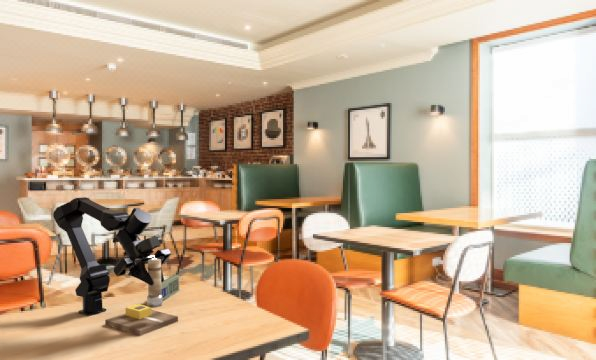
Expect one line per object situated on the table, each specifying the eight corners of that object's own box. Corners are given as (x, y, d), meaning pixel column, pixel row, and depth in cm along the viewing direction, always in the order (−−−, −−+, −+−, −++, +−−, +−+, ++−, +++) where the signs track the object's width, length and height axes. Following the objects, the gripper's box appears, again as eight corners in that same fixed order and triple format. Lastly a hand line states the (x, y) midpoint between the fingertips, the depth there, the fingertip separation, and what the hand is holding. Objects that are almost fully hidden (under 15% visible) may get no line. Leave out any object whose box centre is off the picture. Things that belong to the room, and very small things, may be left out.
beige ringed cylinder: (144, 307, 130) (144, 261, 130) (151, 302, 134) (150, 258, 134) (158, 307, 129) (158, 261, 129) (164, 303, 134) (164, 258, 133)
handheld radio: (181, 291, 171) (149, 311, 146) (173, 291, 171) (140, 311, 147) (180, 274, 171) (148, 292, 146) (172, 274, 171) (139, 292, 147)
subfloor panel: (105, 324, 133) (105, 319, 133) (143, 311, 145) (143, 307, 145) (140, 335, 124) (140, 330, 124) (177, 321, 136) (177, 316, 136)
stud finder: (125, 315, 137) (125, 307, 137) (137, 311, 141) (137, 303, 141) (139, 319, 133) (139, 310, 133) (151, 315, 137) (151, 306, 137)
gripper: (119, 231, 125) (147, 273, 120) (166, 223, 141) (193, 260, 137) (101, 255, 129) (128, 297, 124) (149, 245, 145) (174, 282, 140)
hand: (157, 283), depth 131 cm, fingers closed on beige ringed cylinder, 4 cm apart
